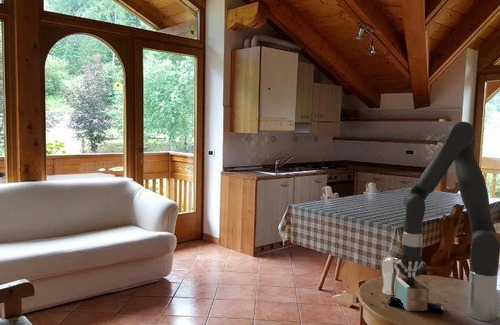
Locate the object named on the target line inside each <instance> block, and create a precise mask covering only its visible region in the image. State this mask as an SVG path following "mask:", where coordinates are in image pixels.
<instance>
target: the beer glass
mask: <svg viewBox="0 0 500 325" xmlns="http://www.w3.org/2000/svg"><path fill="white" fill-rule="evenodd" d="M398 261H400V259H399V258H396V257H394V256H393V257H392V256H385V257H383V259H382V266H381V271H382V272H381V274H382V280H383V285H382V289H381V290H382V293H383V294H385V295H389V296H395V283H396V278H399V275H400V270H399V269H398V268H397V266H396V265H395V262H398Z"/></svg>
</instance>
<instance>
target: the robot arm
mask: <svg viewBox="0 0 500 325" xmlns="http://www.w3.org/2000/svg"><path fill="white" fill-rule="evenodd" d="M445 133H446V134H445V135H446V136H445V137H446V138H445V141H444V143H443V145H442V146H441V148H440V150H439V151H438V153H437V154H436V155H435V157H433V159H432V160H431V161H430V163H429V164H428V166H426V168H425V169H424V171H422V174H421V175H420V177H419V178H418V180H417V182H416V183H415V184H414V185H413V187H412V188H411V189H410V190H409V191H408V192H407V194H406V196H405V197H404V201H403V203H404V205H405V218H404V221H403V232H402V236H401V238H402V239H401V256H400V259H399V261H398V262H395V265H396V266H397V268H398V269H399V273H401V274H402V275H403V276H405V278H406V284H407V285H409V286H413V285H414V278H416V277H419V276H420V275H421V274H422V273H423V272H424V271H425V270H426V268H427V267H428V264H427V263H426V262H424V261H423V259H422V254H423V241H424V240H423V227H424V226H423V224H424V223H423V222H424V218H425V212H426V199H427V198H428V196H429V195H430V194H432V193H433V192H434V191H435V190H436V189H437V187H438V186H439V184H440V183H441V181H442V180H443V178H444V176H445V175H446V173H447V171H448V170H449V169H450V167H451V165H452V164H453V162H454V165H455V166H454V167H455V173H456V174H455V175H456V180H457V184H458V189H459V194H460V197H461V201H462V203H463V206H464V208H465V210H466V212H467V214H468V218H469V222H470V229H471V244H470V259H469V275H468V290H467V294H468V295H467V305H466V306H467V309H466V314H467V315H468V316H469V317H470V318H473V319H475V320H477V321H483V322H493V321H495V320H497V319H498V312H499V311H498V310H499V300H500V298H499V297H500V296H499V294H498V293H497V290H498V288H497V287H498V274H499V273H498V272H499V266H500V265H499V264H500V238H499V236H498V233H497V230H496V228H495V226H494V222H493V220H492V215H491V208H490V199H489V192H488V187H487V183H486V179H485V176H484V173H483V172H482V168H481V167H480V165H479V163H478V161H477V158H476V156H475V151H474V144H473V141H474V138H475V136H476V130H475V127H474V125H472V123H469V122H468V121H457V122H455V123H452V124H450V126H449V127H448V128H447V130H446V132H445ZM403 266H404V268H403Z"/></svg>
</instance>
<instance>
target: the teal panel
mask: <svg viewBox="0 0 500 325" xmlns="http://www.w3.org/2000/svg"><path fill="white" fill-rule="evenodd" d="M401 278H402V277H398V278H397V283H396V298H398V299H400V300H401V302H402V303H403V306H404V307H403V306H402V307H403V308H404V309H405V310H406V311H407V292H408V289H410V286H409V285H407V284H406V283H405V282H404V281H403V280H402V279H401Z"/></svg>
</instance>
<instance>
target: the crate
mask: <svg viewBox="0 0 500 325" xmlns="http://www.w3.org/2000/svg"><path fill="white" fill-rule="evenodd" d="M400 278H401V279H402V280H403V281H404V282H405V283H406V277H404V278H403V277H400ZM396 283H397V278H396ZM396 283H395V295H394V299H395V298H396ZM429 290H430V289H429V288H428V287H426V285H424V284H423V283H422V282H420V281H419V280H418V279H416V277H414V285H413V286H410V289H408V292H407V310H406V311H407V312H425V311H426V310H427V311H428V308H429V306H428V305H429V292H430V291H429ZM424 310H425V311H424ZM427 311H426V312H427Z"/></svg>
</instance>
